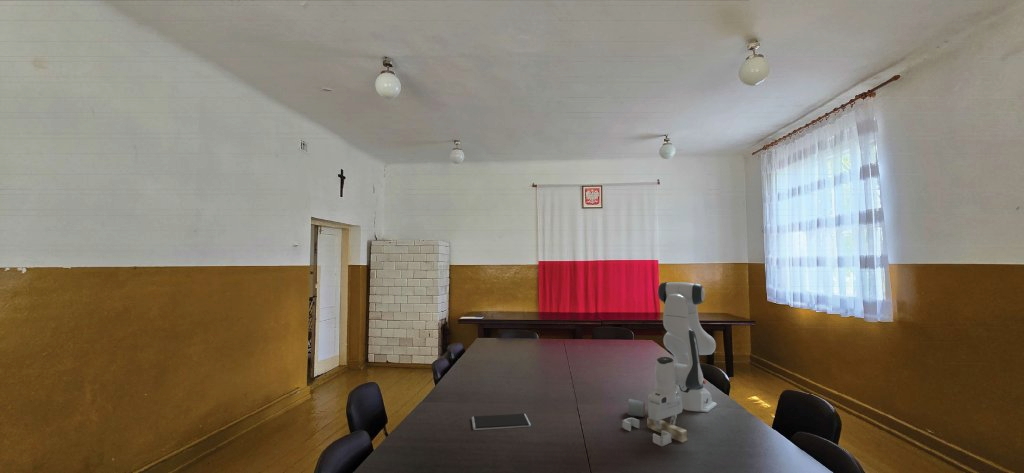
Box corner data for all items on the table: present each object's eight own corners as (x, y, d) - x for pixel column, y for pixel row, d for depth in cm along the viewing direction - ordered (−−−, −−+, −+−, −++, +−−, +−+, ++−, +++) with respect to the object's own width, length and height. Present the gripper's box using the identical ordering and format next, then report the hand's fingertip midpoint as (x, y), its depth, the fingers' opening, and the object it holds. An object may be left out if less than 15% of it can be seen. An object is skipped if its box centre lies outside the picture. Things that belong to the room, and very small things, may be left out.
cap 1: (639, 428, 177) (639, 420, 178) (629, 431, 174) (629, 423, 174) (631, 424, 181) (631, 417, 181) (622, 427, 178) (622, 420, 178)
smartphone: (531, 428, 179) (531, 424, 179) (473, 431, 174) (473, 427, 175) (525, 416, 192) (525, 413, 192) (471, 419, 188) (471, 415, 188)
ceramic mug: (645, 419, 187) (645, 403, 188) (628, 417, 189) (627, 401, 190) (644, 411, 197) (644, 396, 198) (628, 410, 199) (627, 394, 200)
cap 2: (652, 442, 164) (652, 433, 164) (662, 438, 167) (662, 430, 167) (661, 446, 160) (661, 437, 160) (671, 442, 163) (671, 434, 164)
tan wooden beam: (647, 427, 179) (647, 417, 179) (652, 425, 180) (651, 416, 181) (682, 443, 163) (682, 432, 164) (687, 441, 165) (686, 430, 166)
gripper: (673, 389, 181) (674, 419, 180) (645, 396, 170) (645, 428, 169) (685, 392, 176) (686, 423, 175) (657, 401, 165) (658, 434, 164)
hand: (666, 426), depth 172 cm, fingers open, 8 cm apart
